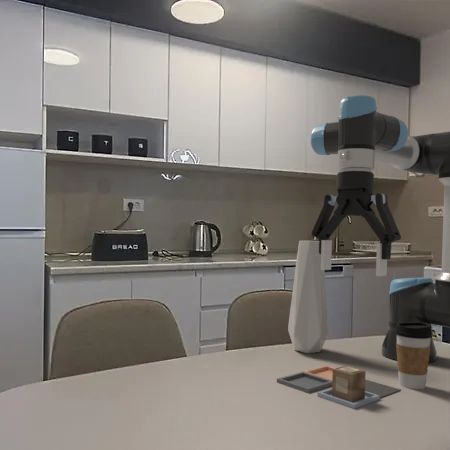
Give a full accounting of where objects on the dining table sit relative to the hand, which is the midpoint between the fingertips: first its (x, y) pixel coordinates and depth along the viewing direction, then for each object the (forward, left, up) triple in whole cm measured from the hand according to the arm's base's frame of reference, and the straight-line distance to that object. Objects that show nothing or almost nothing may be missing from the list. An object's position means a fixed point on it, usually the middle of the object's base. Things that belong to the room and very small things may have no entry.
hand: (352, 272), depth 106 cm
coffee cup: (-23, +2, -28) cm, 36 cm away
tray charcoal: (-3, -14, -28) cm, 31 cm away
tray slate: (-3, -2, -28) cm, 28 cm away
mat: (-13, -2, -28) cm, 31 cm away
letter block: (-3, -2, -28) cm, 28 cm away
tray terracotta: (-13, -14, -28) cm, 34 cm away
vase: (-29, -35, -28) cm, 54 cm away
